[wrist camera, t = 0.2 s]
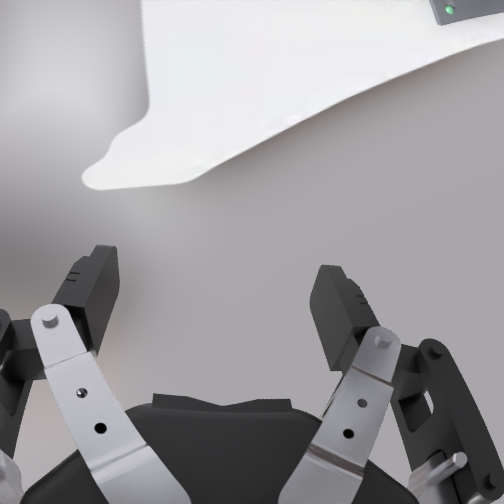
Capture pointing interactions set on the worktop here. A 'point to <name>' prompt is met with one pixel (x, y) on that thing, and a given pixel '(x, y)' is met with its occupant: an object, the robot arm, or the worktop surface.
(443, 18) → the charging dock
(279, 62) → the worktop surface
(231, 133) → the worktop surface
